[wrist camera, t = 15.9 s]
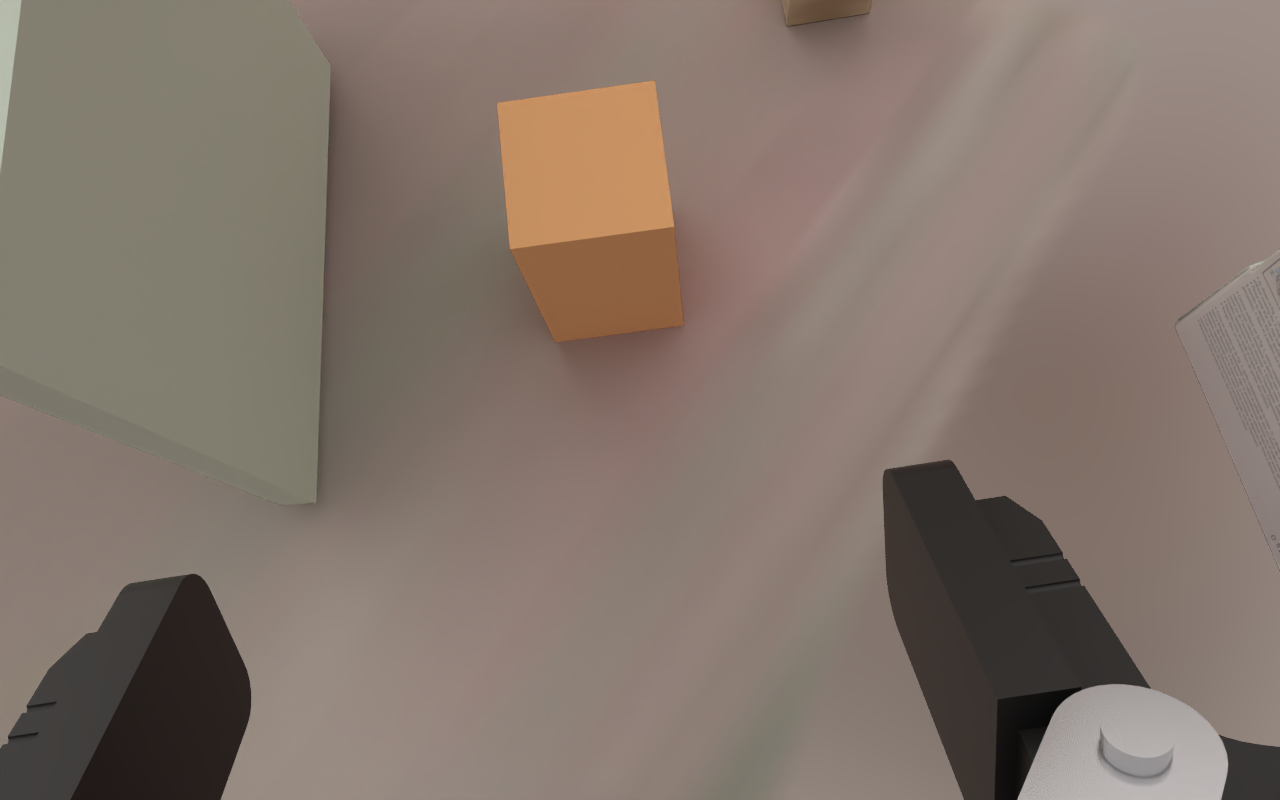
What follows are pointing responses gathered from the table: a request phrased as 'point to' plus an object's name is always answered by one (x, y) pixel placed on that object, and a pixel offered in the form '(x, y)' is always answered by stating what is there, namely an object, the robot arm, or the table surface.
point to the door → (168, 229)
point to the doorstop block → (592, 210)
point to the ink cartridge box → (1244, 380)
